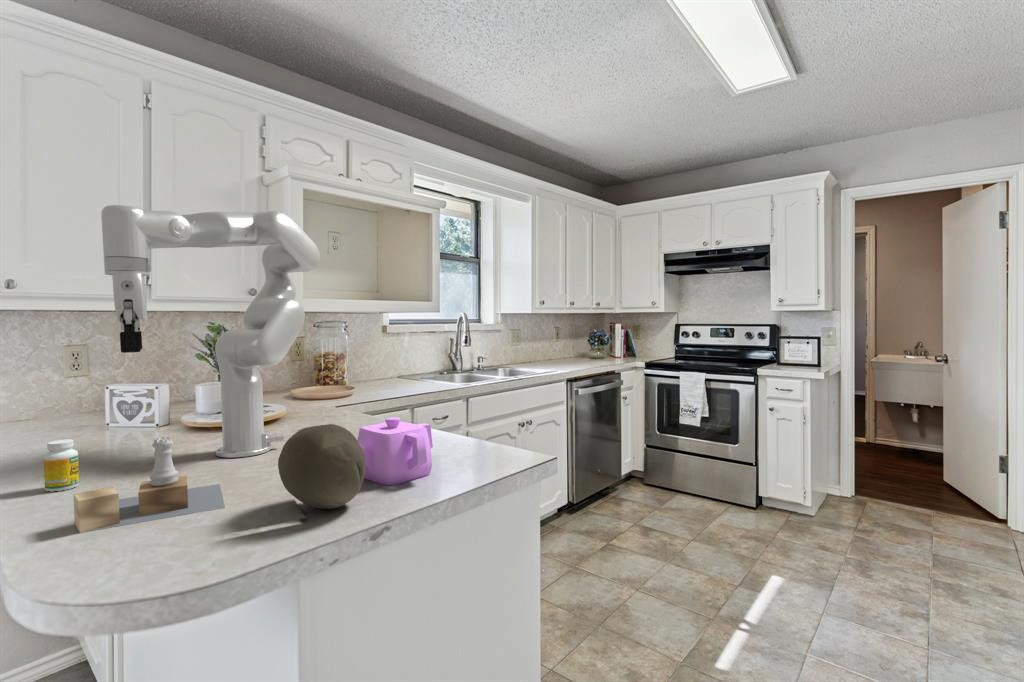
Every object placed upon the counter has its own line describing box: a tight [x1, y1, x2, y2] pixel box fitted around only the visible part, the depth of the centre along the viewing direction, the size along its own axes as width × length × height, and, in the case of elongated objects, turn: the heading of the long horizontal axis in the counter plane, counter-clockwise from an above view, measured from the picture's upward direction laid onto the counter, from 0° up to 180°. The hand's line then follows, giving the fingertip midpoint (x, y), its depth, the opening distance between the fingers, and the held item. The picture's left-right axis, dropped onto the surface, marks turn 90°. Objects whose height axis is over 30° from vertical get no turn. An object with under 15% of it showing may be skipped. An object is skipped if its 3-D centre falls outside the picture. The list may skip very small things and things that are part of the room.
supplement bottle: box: [43, 438, 80, 493], centre depth 106 cm, size 5×5×10 cm
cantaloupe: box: [277, 423, 366, 510], centre depth 92 cm, size 14×14×15 cm
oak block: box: [73, 486, 120, 534], centre depth 84 cm, size 5×5×5 cm
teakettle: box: [357, 416, 434, 486], centre depth 114 cm, size 17×17×12 cm
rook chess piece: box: [148, 436, 179, 487], centre depth 92 cm, size 4×4×8 cm
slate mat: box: [78, 483, 226, 534], centre depth 93 cm, size 20×16×1 cm
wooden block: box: [137, 475, 189, 516], centre depth 92 cm, size 7×7×4 cm
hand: (132, 351), depth 108 cm, fingers open, 9 cm apart
